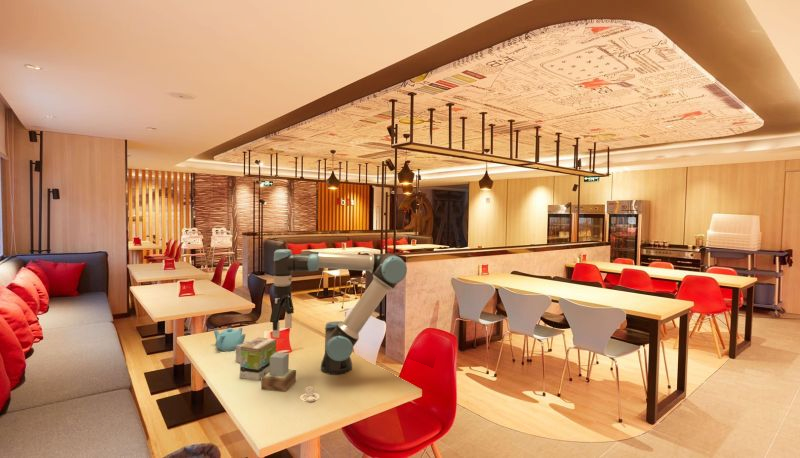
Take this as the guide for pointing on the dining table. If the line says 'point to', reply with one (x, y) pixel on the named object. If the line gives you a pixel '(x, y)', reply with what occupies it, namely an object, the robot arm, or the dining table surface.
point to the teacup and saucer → (309, 395)
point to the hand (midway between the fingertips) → (282, 332)
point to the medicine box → (239, 351)
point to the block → (279, 363)
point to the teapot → (229, 339)
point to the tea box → (256, 358)
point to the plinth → (278, 381)
